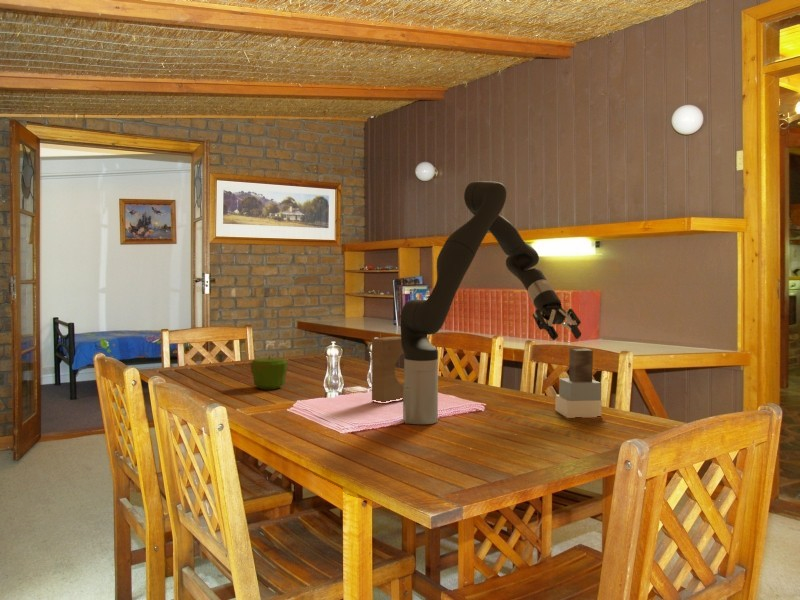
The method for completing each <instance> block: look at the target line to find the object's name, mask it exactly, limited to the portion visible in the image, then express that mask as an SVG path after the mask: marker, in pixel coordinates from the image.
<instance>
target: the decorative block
mask: <svg viewBox="0 0 800 600" xmlns="http://www.w3.org/2000/svg"><path fill="white" fill-rule="evenodd" d="M402 355H404V351H403V349H402V345H401V336H396V335H395V336H386V337H378V338H377V337H374V338H372V339H371V401H372V400H376V401H381V402H386V401H390V400H396V399H400V398H403V385H404V383H401V382H400V381H399V380H398V378H397V376H396V365H397V362H398V361H399V358H400V357H401V356H402Z"/></svg>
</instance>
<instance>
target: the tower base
mask: <svg viewBox="0 0 800 600" xmlns="http://www.w3.org/2000/svg"><path fill="white" fill-rule="evenodd" d="M602 406H603V405H602V399H601V400H597V401H569V400H567V399H565V398H563V397H562V396H560V395H559V394H555V409H554V410H555V412H557V413H558V414H560V415H562V416H564V417H565V418H567V419H570V418H571V419H572V418H575V417H582V418H598V417H597V416H601V417H602ZM575 419H576V418H575Z"/></svg>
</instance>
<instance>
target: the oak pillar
mask: <svg viewBox="0 0 800 600" xmlns="http://www.w3.org/2000/svg"><path fill="white" fill-rule="evenodd" d="M593 355H594V350H592V349H590V348H586V347H585V348H584V347H583V348H582V347H579V348H577V347H575V348H572V347H571V348H569V359H568V360H569V366H568V367H569V368H568V369H569V371H568V378H569V379H570V380H572V381H574V382H592V379H593V370H594V369H593V367H594V366H593V363H594V362H593V361H594V360H593V359H594V356H593Z"/></svg>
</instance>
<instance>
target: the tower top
mask: <svg viewBox="0 0 800 600" xmlns="http://www.w3.org/2000/svg"><path fill="white" fill-rule="evenodd" d="M558 380H559V382H558V383H559V384H558V395H560V396H562V397H563V398H565V399H567V400H569V401H597V400H601V401H602V382H600V381H597V380H595V379H593V378H592V382H574V381H572V380H570V379H569V377H567V378H565V377H564V378H563V377H560V378H558Z"/></svg>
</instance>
